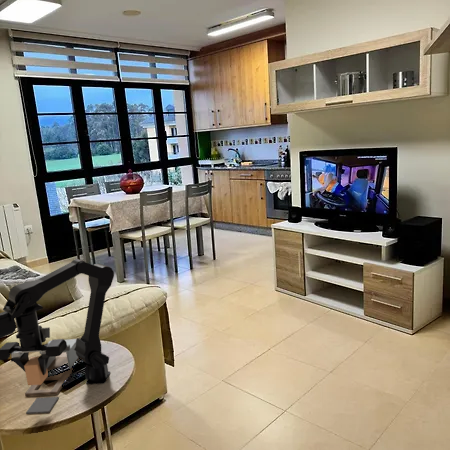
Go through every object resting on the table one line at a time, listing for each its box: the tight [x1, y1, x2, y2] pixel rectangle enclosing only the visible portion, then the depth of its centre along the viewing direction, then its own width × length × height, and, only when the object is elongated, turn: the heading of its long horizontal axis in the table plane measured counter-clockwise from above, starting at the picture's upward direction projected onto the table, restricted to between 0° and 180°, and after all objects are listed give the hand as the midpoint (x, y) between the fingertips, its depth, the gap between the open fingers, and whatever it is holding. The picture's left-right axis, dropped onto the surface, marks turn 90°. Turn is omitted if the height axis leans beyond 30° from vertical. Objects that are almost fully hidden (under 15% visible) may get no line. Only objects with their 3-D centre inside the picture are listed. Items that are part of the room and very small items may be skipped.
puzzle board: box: [24, 356, 79, 397], centre depth 146 cm, size 10×22×1 cm, turn 179°
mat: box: [25, 396, 59, 415], centre depth 130 cm, size 7×7×1 cm
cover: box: [39, 338, 78, 369], centre depth 151 cm, size 10×8×8 cm
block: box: [24, 355, 48, 386], centre depth 127 cm, size 4×5×6 cm
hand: (37, 374), depth 127 cm, fingers closed on block, 4 cm apart
